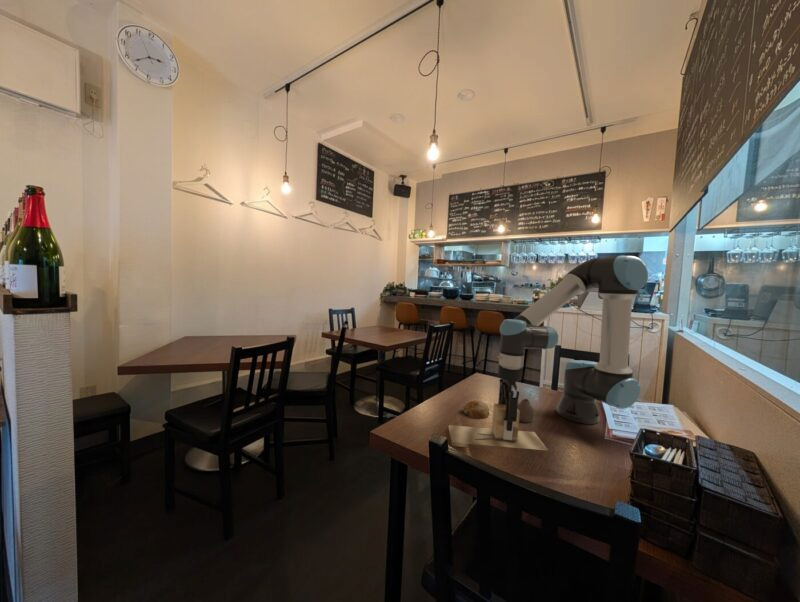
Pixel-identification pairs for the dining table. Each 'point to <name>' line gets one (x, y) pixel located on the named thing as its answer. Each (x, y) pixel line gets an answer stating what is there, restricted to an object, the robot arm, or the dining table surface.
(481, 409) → the bread roll
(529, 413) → the vase
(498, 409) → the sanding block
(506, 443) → the board
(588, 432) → the dining table surface
